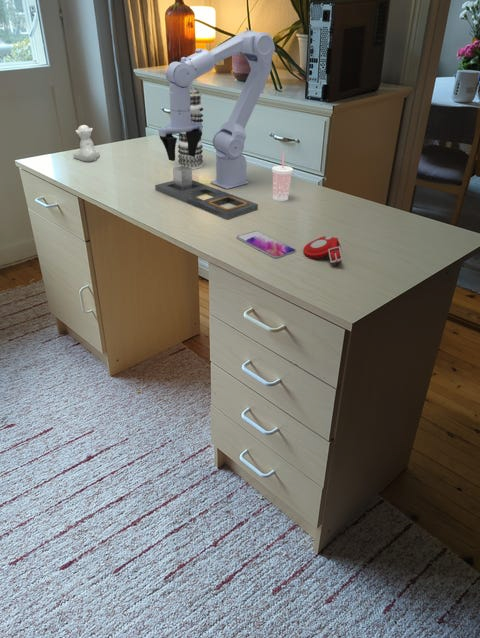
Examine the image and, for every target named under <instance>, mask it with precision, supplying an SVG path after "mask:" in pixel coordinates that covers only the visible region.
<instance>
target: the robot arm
mask: <svg viewBox="0 0 480 638" xmlns="http://www.w3.org/2000/svg"><path fill="white" fill-rule="evenodd" d="M194 51H195V53H192V54H191V55H188V56H187V57H185V56H182V57H181V58H180V61H172V62H171V63H169V64H168V66H167V68H166V72H164V76H165V79H166V80H167V82H168V84H169V85H168V86H169V109H170V110H169V112H170V124H169V125H166V126H163V127H160V128H158V136H159V139H160V141H161V142H162V145H163V146H164V148H165V152H166V155H167V158H168V160H169V161H171V162H175V161H176V146H177V142H178V141H177V140H178V137H175V136H174V135H176V134H179V133H183V132H185V133H186V136H187V142H188V153H189V155H190V156H193V157H194V156H195V153H196V148H197V145H198V142H199V140H200V138H201V139H202V136H203V128H202V126H203V122H201V123H200V122H193V123H191V108H190V88H191V84H193V82H194V80H196V79H198V78H200V77H201V76H203V75H205V74H207V73H209V72H211V71H212V70H214V67H215V64H216V63H218V62H220V61H223V60H225V59H227V58H229V57H232V56H233V55H236V54H239V53H240V54H241V53H242V55H243V56H244V58H245V59H246V60H247V62H248V64H249V68H250V72H249V73H248V76H247V77H246V80H245V83H244V85H243V87H242V89H241V92H240V94H239V96H238V99H236V102H235V105H234V107H233V109H232V112H231V114H230V116H229V117H228V120H227V121H226V122H225V123H223V124H222V125H221V126H220V128H219V130H218V131H216V132H215V134H214V135H213V137H212V146H213V148H214V150H215V153H216V155H215V156H216V157H215V159H216V160H215V161H216V163H215V164H216V165H215V166H216V168H215V169H216V170H215V173H216V174H215V175H216V176H215V178H216V179H215V180H211V181H210V184H212V185H215V186H217V187H220V188H223V189H225V190H229V189H232V188H235V187H239V186H242V185H247V184H248V183H249V181H248V180H247V166H248V164H247V159H246V157H245V155H243V154H242V153H243V151H244V148H245V141H246V139H247V134H246V130H245V128H246V126H247V125H248V121H249V120H250V117H251V116H252V113H253V112H254V109H255V107H256V104H257V102H258V101H259V97H260V96H261V93H262V91H263V89H264V87H265V85H266V82H267V80H268V78H269V77H270V74H271V71H272V59H273V55H274V53H275V51H276V46H275V43H274V39H273V37H272V35H271V34H270V33H269V32H266V31H265V32H261V31H253V30H250V29H249V30H248V29H247V30H244V32H240V33H237V34H236V35H235V36H233V37H232V38H230V39H227V40H226V41H224V42H223V43H221V44H219V45H217V46H216V47H213V48H212V49H211V50H208V49H206V48H196V49H195V50H194ZM199 130H202V131H199Z"/></svg>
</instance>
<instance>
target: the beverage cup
mask: <svg viewBox="0 0 480 638" xmlns="http://www.w3.org/2000/svg"><path fill="white" fill-rule="evenodd" d="M281 159H282V160H281V165H274V166H272V168H271V171H272V199H273V200H274V201H278V202H283V201H285V202H286V201H288V200H289V195H290V187H291V180H292V173H293V172H294V171H293V170H294V168H293V167H291V166H288V165H284V163H285V150H282V158H281Z"/></svg>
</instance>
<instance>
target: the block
mask: <svg viewBox="0 0 480 638" xmlns="http://www.w3.org/2000/svg"><path fill="white" fill-rule="evenodd" d="M192 170H193V169H192V168H189V167H186V166H179V165H178V166H176V167H175V166H174V167H173V168H172V176H173V178H172V179H173V180H172V181H173V182H174V189H177V190H179V191H184V190H188V189H192V180H193V171H192Z"/></svg>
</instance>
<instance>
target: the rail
mask: <svg viewBox="0 0 480 638" xmlns="http://www.w3.org/2000/svg"><path fill="white" fill-rule="evenodd" d="M154 187H155V191H157V192H159V193H161V192H162V194H165V195H166V194H167V196H169V197H171V198H174V199H176V200H179V201H180V202H183V203H186V204H188V205H190V206H193V207H195V208H198V209H201V210H203V211H206V212H208V213H210V214H212V215H215V216H217V217H219V218H222V219H225V220H230V219H233V218H236V217H238V216H242V215H245V214H247V213H251V212H254V211H257V210H258V209H259V208H258V207H259V204H258V203H255V202H253V201H251V200H247V199H245V198H243V197H242V198H241V197H239V196H236V195H234V194H231V193H229V192H226V191H223V190H220V189H218V188H215V187H212V186H210V185H207V184H205V183H202V182H199V181H196V180H193V179H192V189H188V190H184V191H179V190H177V189H174V182H173V180H171V181H166V182H162V183H158V184H155V185H154ZM203 195H208V196H211V197H210V198H206V199H201V198H199V196H203ZM228 203H229V204H231V205H234V206H233V207H228V208H226V207H224V206H221V205H224V204H228Z"/></svg>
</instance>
